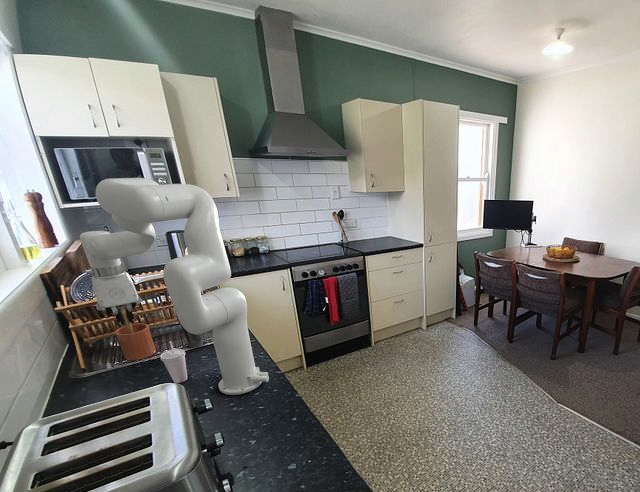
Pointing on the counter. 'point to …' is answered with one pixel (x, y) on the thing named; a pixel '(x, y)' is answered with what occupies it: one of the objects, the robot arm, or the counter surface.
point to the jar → (136, 342)
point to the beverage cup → (192, 337)
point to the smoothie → (175, 363)
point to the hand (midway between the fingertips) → (126, 322)
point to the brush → (126, 320)
